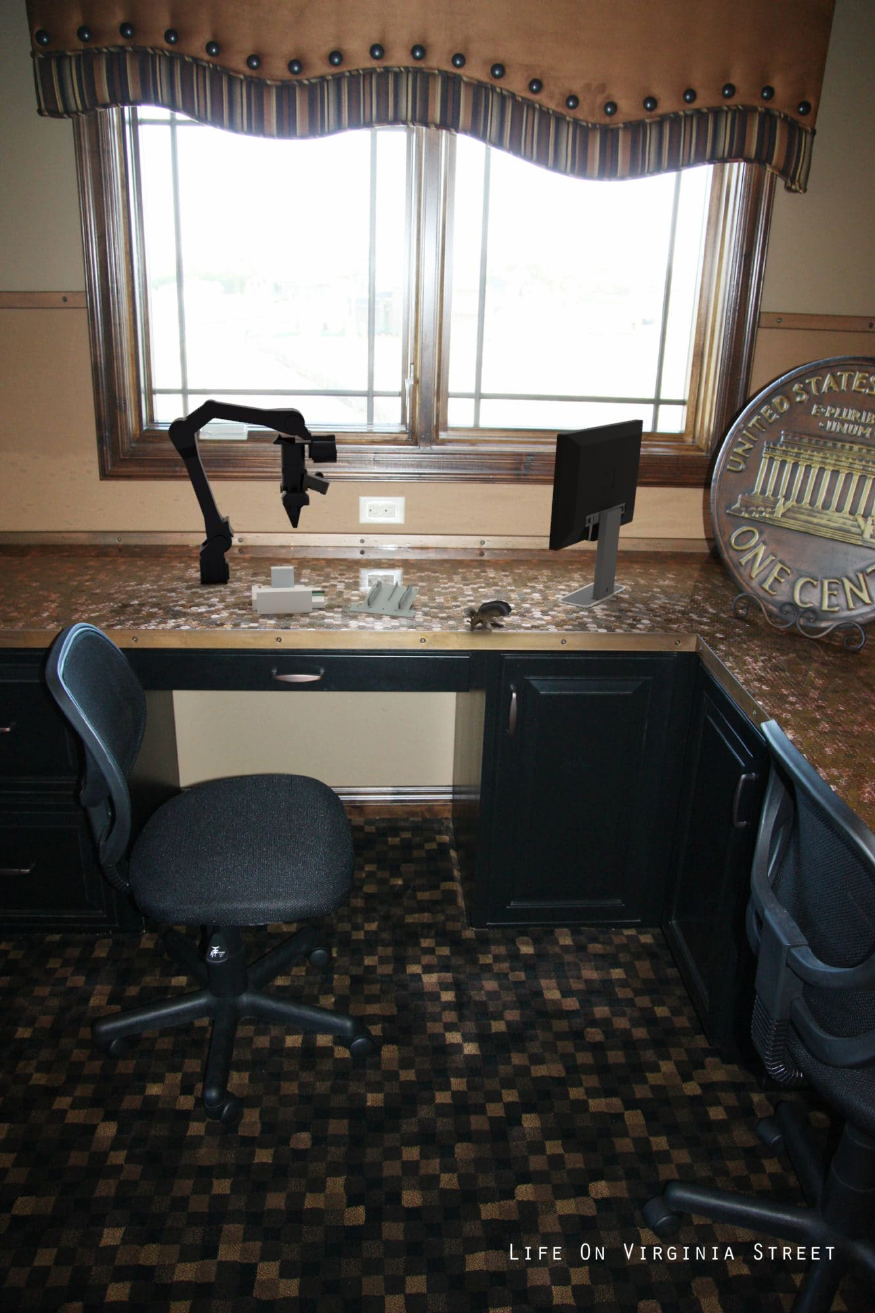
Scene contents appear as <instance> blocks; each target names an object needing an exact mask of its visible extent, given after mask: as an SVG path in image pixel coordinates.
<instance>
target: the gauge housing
mask: <svg viewBox="0 0 875 1313" xmlns="http://www.w3.org/2000/svg"><path fill="white" fill-rule="evenodd" d="M312 590H322V587H311V586H305V587H293V588H261V587H260V588H259V584H258V585H251V598H252V599H251V602H252V603H251V605H252V611H257V615H276V614H278V615H279V614H305V613H313V609H325V608H326V607H325V606H326V604H325V603H326V601H325V598H324V593H318V594H312Z"/></svg>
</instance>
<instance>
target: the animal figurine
mask: <svg viewBox="0 0 875 1313" xmlns="http://www.w3.org/2000/svg"><path fill="white" fill-rule="evenodd" d="M512 611H513V608H512V606H511V605H510V604H509V603H508V602H507V601H504V600H502V599H500V600H499V599H496V600H493V601H488V602H483V603H482V604H481V605H480V606H479V607H478V609H477V610H475V609H474V608H473V607H472V606H466V607H465V608H463V613H464V614H465V616H467V617H469V618H470V620H466V623H469V625H470V630H469V632H473V631H474V630H475V629H476V627H477V625H479V624H480V625H482V626H484V627H486V628H487V629H488V630H489V631H490V633H492V632H493V626H492V625H491V623H493V624H497V625H499V626H502V627H504V624H502V623H500V622H498V620H497V619H495V618H500V617H509V616H510V614H511V613H512Z"/></svg>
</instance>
